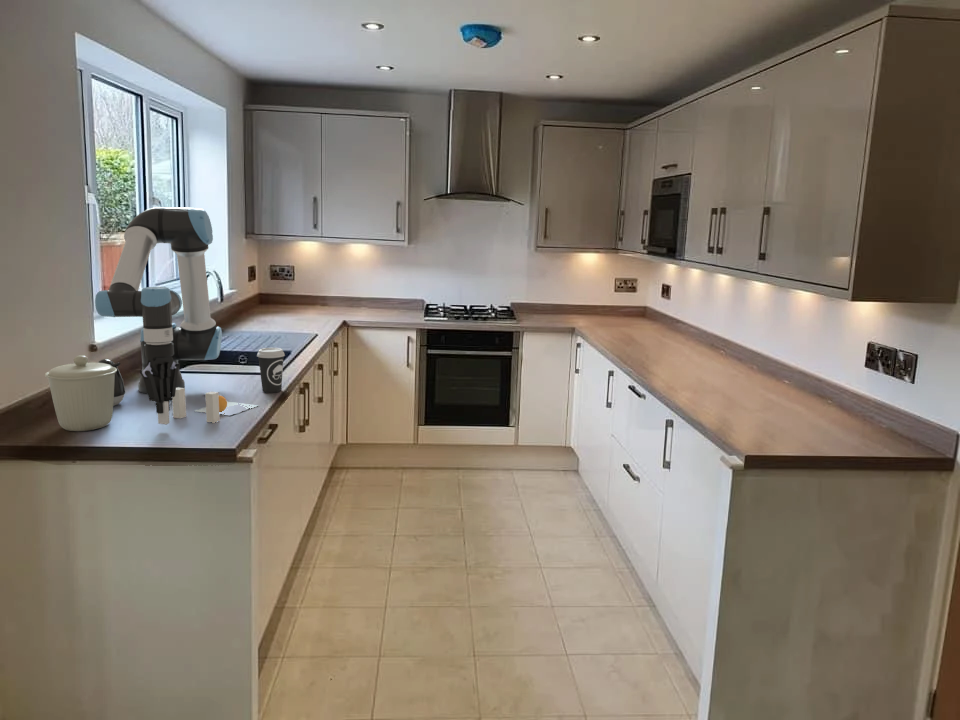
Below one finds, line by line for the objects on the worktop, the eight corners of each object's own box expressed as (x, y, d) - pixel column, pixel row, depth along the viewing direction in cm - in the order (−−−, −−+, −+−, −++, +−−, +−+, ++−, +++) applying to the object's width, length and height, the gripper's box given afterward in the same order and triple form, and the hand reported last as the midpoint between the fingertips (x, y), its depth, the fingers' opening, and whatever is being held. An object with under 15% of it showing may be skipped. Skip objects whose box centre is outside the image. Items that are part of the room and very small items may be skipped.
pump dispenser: (111, 410, 226) (108, 362, 223) (83, 407, 228) (79, 360, 225) (133, 402, 236) (130, 357, 233) (105, 400, 238) (102, 355, 235)
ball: (202, 401, 223) (208, 414, 226) (216, 403, 221) (222, 417, 224) (213, 390, 227) (219, 404, 230) (227, 392, 225) (233, 406, 229)
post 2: (212, 420, 217) (211, 391, 216) (219, 421, 217) (218, 392, 215) (206, 422, 215) (205, 393, 213) (213, 423, 214) (212, 394, 212)
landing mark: (223, 401, 240) (223, 400, 240) (258, 406, 235) (258, 405, 235) (194, 411, 227) (194, 410, 227) (230, 416, 222) (230, 415, 222)
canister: (114, 433, 202) (108, 360, 198) (42, 437, 197) (34, 362, 193) (126, 416, 219) (121, 349, 215) (59, 420, 214) (53, 350, 210)
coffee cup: (285, 387, 262) (283, 346, 259) (286, 393, 253) (285, 351, 250) (257, 388, 259) (256, 347, 256) (258, 394, 250) (256, 352, 247)
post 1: (179, 415, 222) (177, 387, 220) (186, 416, 221) (184, 388, 219) (173, 417, 219) (171, 389, 218) (180, 418, 218) (178, 389, 217)
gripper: (151, 347, 194) (157, 430, 198) (186, 340, 206) (190, 419, 210) (130, 344, 196) (135, 427, 201) (165, 338, 208) (170, 416, 213)
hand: (164, 423), depth 205 cm, fingers closed
